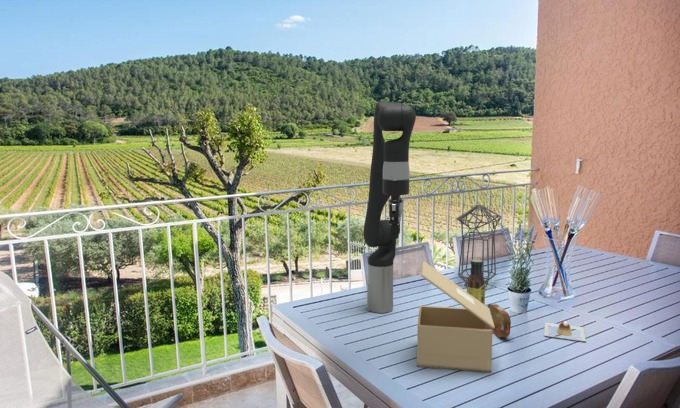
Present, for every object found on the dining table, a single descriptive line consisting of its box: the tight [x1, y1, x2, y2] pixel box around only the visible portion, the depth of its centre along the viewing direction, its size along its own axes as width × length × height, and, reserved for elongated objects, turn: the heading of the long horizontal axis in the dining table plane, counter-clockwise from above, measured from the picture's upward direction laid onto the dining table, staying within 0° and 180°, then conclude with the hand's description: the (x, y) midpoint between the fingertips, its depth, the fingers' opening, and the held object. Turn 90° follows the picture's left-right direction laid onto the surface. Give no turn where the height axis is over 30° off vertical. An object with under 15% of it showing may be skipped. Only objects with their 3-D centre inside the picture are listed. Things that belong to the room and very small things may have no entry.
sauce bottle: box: [466, 258, 486, 306], centre depth 180 cm, size 7×6×20 cm
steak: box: [486, 303, 512, 338], centre depth 165 cm, size 15×3×8 cm, turn 5°
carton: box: [416, 305, 494, 373], centre depth 147 cm, size 20×17×12 cm
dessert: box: [543, 320, 587, 342], centre depth 164 cm, size 12×12×5 cm
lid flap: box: [420, 260, 495, 329], centre depth 145 cm, size 24×15×1 cm
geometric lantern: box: [455, 203, 502, 288], centre depth 212 cm, size 16×16×35 cm
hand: (395, 235), depth 146 cm, fingers open, 5 cm apart
